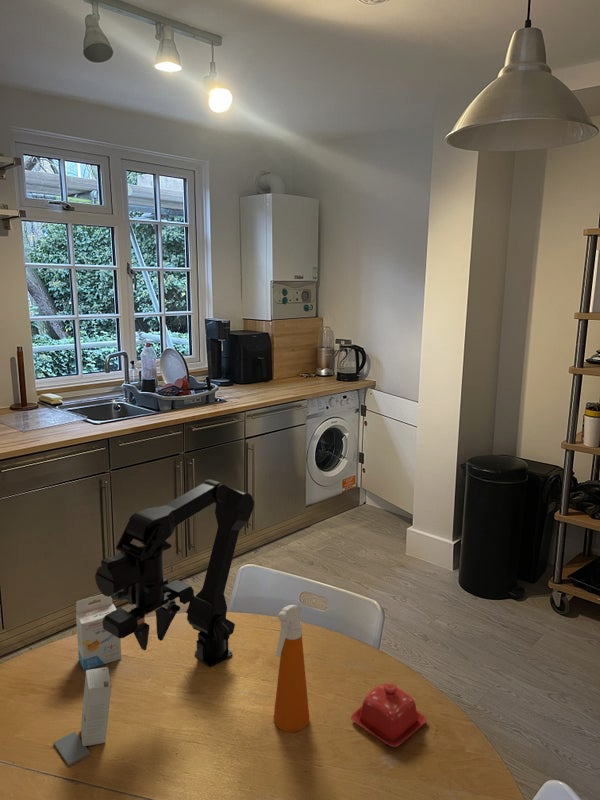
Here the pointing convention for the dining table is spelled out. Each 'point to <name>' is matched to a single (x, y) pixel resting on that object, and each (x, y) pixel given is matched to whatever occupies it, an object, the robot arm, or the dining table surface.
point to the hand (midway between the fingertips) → (152, 644)
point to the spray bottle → (291, 674)
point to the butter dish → (389, 714)
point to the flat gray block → (71, 748)
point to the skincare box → (95, 706)
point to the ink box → (95, 633)
